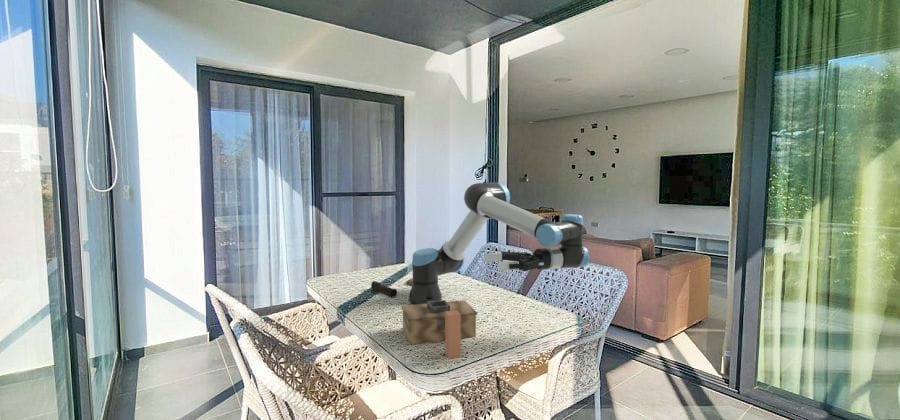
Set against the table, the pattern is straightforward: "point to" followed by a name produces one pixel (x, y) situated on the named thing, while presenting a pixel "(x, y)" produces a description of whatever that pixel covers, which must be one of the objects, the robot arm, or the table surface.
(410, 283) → the cookie
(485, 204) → the robot arm
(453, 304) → the wooden socket base
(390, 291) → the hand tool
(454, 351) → the wooden peg
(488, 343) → the table surface
